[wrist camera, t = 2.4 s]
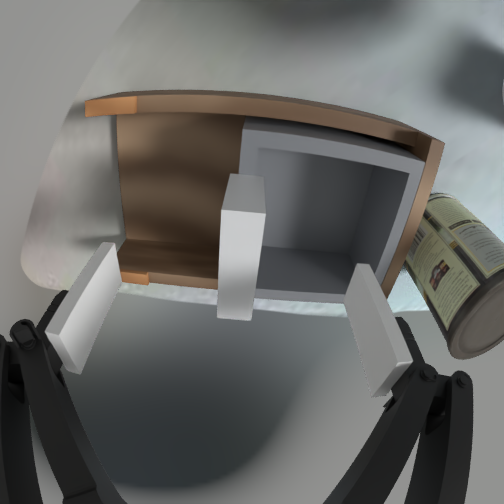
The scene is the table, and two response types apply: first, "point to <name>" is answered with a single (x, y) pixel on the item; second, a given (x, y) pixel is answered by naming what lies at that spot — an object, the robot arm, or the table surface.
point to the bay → (216, 173)
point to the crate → (309, 212)
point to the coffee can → (459, 276)
